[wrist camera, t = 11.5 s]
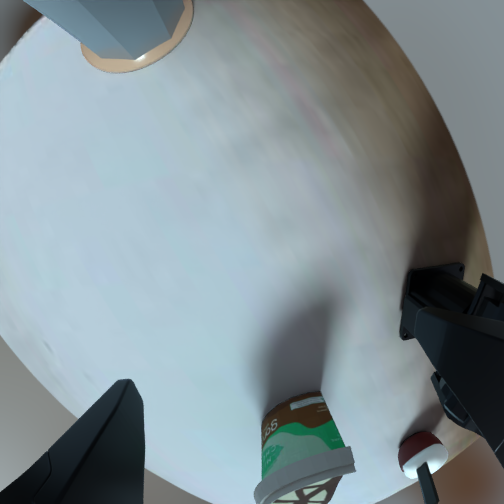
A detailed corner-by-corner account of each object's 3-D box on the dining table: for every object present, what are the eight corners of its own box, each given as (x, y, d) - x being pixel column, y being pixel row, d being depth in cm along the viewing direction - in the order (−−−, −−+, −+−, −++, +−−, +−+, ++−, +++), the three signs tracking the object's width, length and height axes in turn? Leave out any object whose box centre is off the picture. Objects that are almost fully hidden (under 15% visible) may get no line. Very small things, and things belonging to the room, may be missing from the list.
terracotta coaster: (193, -26, 14) (193, -29, 13) (194, 59, 16) (193, 57, 16) (90, 0, 14) (87, -2, 13) (79, 86, 16) (76, 85, 15)
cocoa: (432, 437, 29) (469, 491, 17) (396, 461, 29) (428, 518, 18) (427, 411, 26) (474, 476, 15) (384, 440, 26) (424, 511, 15)
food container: (253, 380, 23) (262, 478, 13) (323, 379, 23) (358, 467, 13) (246, 458, 26) (250, 532, 16) (300, 456, 26) (316, 527, 17)
